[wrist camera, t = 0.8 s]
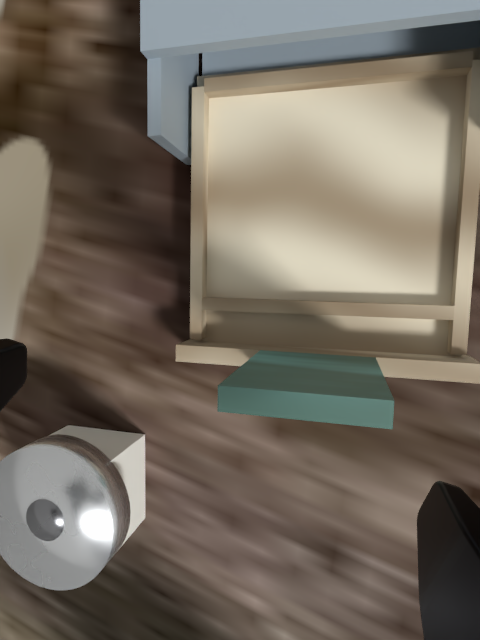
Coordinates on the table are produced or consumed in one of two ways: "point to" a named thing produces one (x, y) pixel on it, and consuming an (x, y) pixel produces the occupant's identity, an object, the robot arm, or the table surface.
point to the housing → (280, 43)
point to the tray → (334, 232)
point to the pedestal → (120, 463)
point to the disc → (61, 511)
